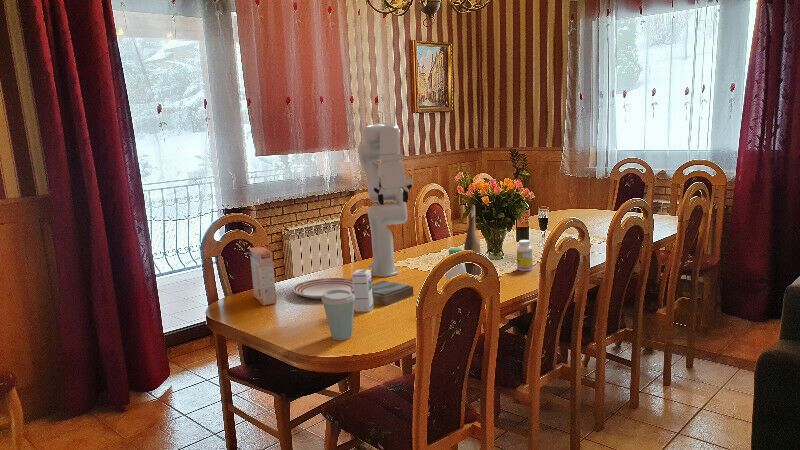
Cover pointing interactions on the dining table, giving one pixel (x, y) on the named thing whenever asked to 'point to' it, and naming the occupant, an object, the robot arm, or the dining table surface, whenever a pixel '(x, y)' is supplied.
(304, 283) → the dinner plate
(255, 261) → the cracker box
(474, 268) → the grey vase
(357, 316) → the dining table surface
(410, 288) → the podium
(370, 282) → the syrup box
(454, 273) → the milk bottle
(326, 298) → the disposable coffee cup
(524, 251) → the supplement bottle
